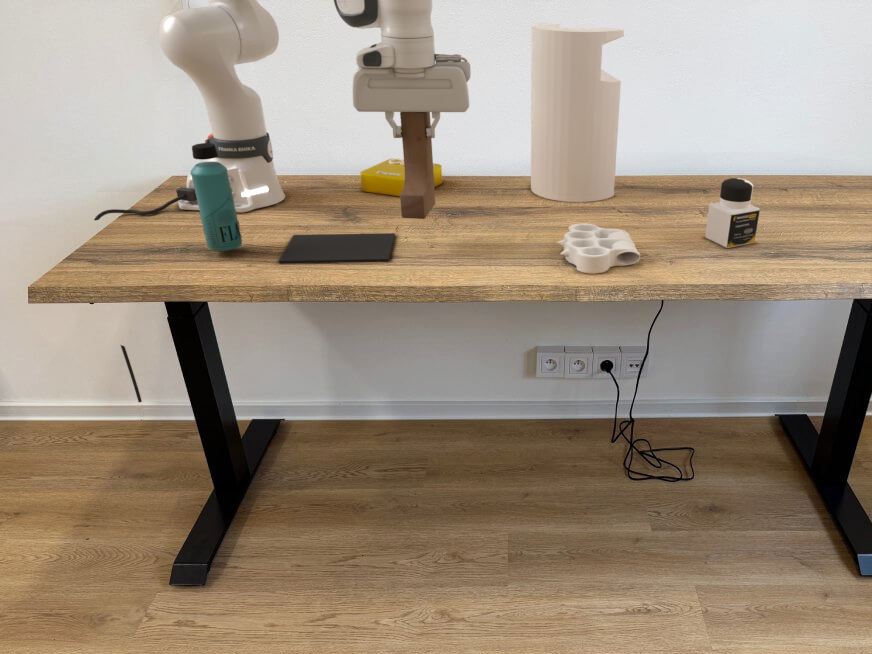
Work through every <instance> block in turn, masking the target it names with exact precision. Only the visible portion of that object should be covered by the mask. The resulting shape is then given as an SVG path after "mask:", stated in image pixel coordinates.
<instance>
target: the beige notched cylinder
mask: <svg viewBox="0 0 872 654" xmlns="http://www.w3.org/2000/svg"><path fill="white" fill-rule="evenodd" d="M624 34H625V29H620V28H609V27H608V28H607V27H599V28H598V27H597V28H568V27H561V26H560V24H558V23H549V22H547V23H546V22H536V23H533V24H531V36H530V37H531V38H530V39H531V41H530V42H531V47H530V50H531V51H530V52H531V55H530V57H531V59H530V60H531V64H530V67H531V68H530V70H531V71H530V80H531V81H530V92H531V93H530V103H531V104H530V107H531V108H530V191H531V192H532V193H533V194H535V196H538V197H541V198H544V199H546V200H547V199H548V200H551V201H552V200H553V201H557V202H558V201H559V202H567V203H568V202H570V203H586V202H587V203H588V202H598V201H603V200H607V199H610V198H612V197H614V195H615V183H616V182H615V181H616V166H617V151H618V150H617V149H618V134H619V133H618V132H619V118H620V117H619V116H620V101H621V83H622V82H621V81H622V80H619V79H618V78H617V77H616V76H613V75H612V74H610V73H608V72H607V71H606V70H604V69H602V59H603V46H604V45H606V44H609V43H610V42H613V41H615V40H618V39H621V38H623V37H624Z"/></svg>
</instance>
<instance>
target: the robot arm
mask: <svg viewBox="0 0 872 654" xmlns="http://www.w3.org/2000/svg"><path fill="white" fill-rule="evenodd" d="M207 2H208V4H209V6H203V7H202V6H201V7H189V8H184V9H181V10H178V11H176V12H175V11H174V12H172V13H170V14H168V15H165V16H164V17H163V18H162V19H161V21H160V24H159V27H158V40H159V45H160V47H161V50H162V52H163V53H164V56H165V57H166V58H167V59H168V60H169V62H171V63H172V65H174V66H175V67H177V68H179V69H180V70H182V71H183V72H184V73H185V74H186V75H187V76H188V77H189V78H190V79H191V80H192V82H193V83H194V84H195V86H196V87H197V89H198V90H199V92H200V94H201V96H202V99H203V101H204V104H205V108H206V112H207V116H208V119H209V124H210V128H211V133H210V134H208V136H207V138H206V139H205V140H204V143H212V144H214V145H215V147H216V151H217V153H218V156H217V157H215V158H212V159H203V160H200V161H199V162H198V163H201V162H209V161H213V162H219V163H221V164H222V165H223V166H225V167H226V168H227V173H228V178H229V182H230V186H231V187H232V190H231V191H233V192H232V195H233V198H234V199H233V201H234V202H235V203H234V206H235V209H236V213H248V212H250V211H254V210H256V209H261V208H266V207H270V206H273V205H275V204H279V203H280V202H283V200H285V198H286V194H285V192H284V190H283V188H282V186H281V183H280V180H279V178H278V175H277V172H276V169H275V165H274V162H273V161H274V152H273V145H272V141H271V139H270V138H271V137H270V134H269V132H268V131H267V127H266V120H265V115H264V108H263V103H262V99H261V97H260V95H259V94H258V92H256V90H255V89H253V88H251V87H250V86H247V85H246V84H243V83H242V81H241V80H240V78H239V77H238V76H239V75H238V74H237V71H236V69H235V65H242V64H248V63H254V62H255V63H256V62H258V61H260V60H263V59H265V58H267V57H269V56H271V55H272V54H274V53H275V52H276V50H277V49H278V46H279V42H280V41H279V40H280V35H279V29H278V25H277V23H276V20H275V19H274V17H273V16H272V14H271V13H270V12H269V11H268V10H267V9H266V8H264V6H262V5H261V4H260V3H259V2H258V1H257V0H207ZM333 4H334V7H335V9H336V12H337V13H338V16H339V18H341V20H342V21H343V22H344V23H345V24H346V25H348V26H349V27H351V28H357V29H361V30H362V29H363V30H364V29H374V28H375V29H377V28H379V29H380V39H381V40H380V41H381V42H379V43H374V44H372V45H368V46H366V47H364V48H363V47H362V49H360V50H358V52H357V53H356V55H355V61H356V65H357V68H356V70H355V72H354V73H353V76H352V105H353V107H354V109H355V110H356V111H357V112H359V113H363V112H364V113H374V112H375V113H384V116H385V120H386V121H387V123H388V124H389V126H390V127H391V129H392V136H393V139H402V127H401V125H397V123H396V121H395V120H394V118H395V113H400V112H430V113H431V118H432V119H433V121H432V123H431V126H427V127H426V132H427V138H431V139H435V138H436V127H437V125H438V123H439V122H440V119H441V113H465V112H467V111H468V109H469V108H470V93H469V87H468V82H469V80H471V63H470V62H469V60H468V59H467V58H465V57H463V56H462V55H461V54H458V53H457V54H455V53H454V54H444V53H435V52H436V51H435V49H436V48H435V34H434V33H435V32H434V29H433V25H432V11H433V0H333ZM175 191H176V195H177V197H175V198H173V199H171V200H169V201H167V202H166V203H164V204H162V205H161V206H159V207H157V208H154V209H151V210H144V211H143V210H139V209H119V208H118V209H117V208H116V209H115V208H114V209H113V208H111V209H106V210H103V211H101V212H100V213H98V214H97V215H96V216H95V218H94V219H93V221H98V220H100V219H101V218H102V217H104V216H106V215H109V214H137V215H141V216H148V215H149V216H150V215H154V214H156V213H159V212H161V211H163V210H165V209H166V208H168V207H169V206H171V205H173V204H174V203H176V202H177V203H178V208H179V209H180V210H185V211H186V210H187V211H200V210H199V205H198V201H197V197H196V193H195V188H194V184H193V180H192V176H191V173H190V172H189V173H188V174H187V177H186V186H185V187H179V188H176V189H175ZM120 349H121V351H122V354H123V357H124V360H125V363H126V366H127V369H128V372H129V375H130V378H131V381H132V386H133V389H134V392H135V394H136V398H137V402H138V403H142V402H143V401H142V396H141V394H140V390H139V387H138V383H137V381H136V380H137V379H136V377H135V373H134V370H133V368H132V365H131V361H130V359H129V356H128V352H127V349H126V346H125V345H122V344H120Z"/></svg>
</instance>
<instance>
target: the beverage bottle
mask: <svg viewBox="0 0 872 654" xmlns="http://www.w3.org/2000/svg"><path fill="white" fill-rule="evenodd" d="M191 151H192V158H193V159H195V160H200V162H201V161H202V160H203V159H212V158H215V157H217V156H218V153H217V151H216V147H215V145H214V144H212V143H205V142H202V143H196V144H193V145H192V146H191ZM189 173H191V176H192V180H193V184H194V188H195V193H196V197H197V201H198V205H199V210H198V212H199V217H200V221H201V225H202V230H203V235H204V237H203V238H205V243H206V246H207V247H208V249H209V250H212V251H216V252H224V251H231V250H235V249H238V248H240V247H241V246H242V244H243V238H242V233H241V232H242V231H241V230H242V229H241V228H240V227H241V226H240V222H239V221H240V220H239V219H238V212H236V209H235V206H234V203H235V202H234V201H233V199H234V198H233V195H232V192H233V191H231V190H232V187H231V186H230V182H229V178H228V173H227V168H226V167H225V166H223V165H222V164H221V163H219V162H213V161H209V162H201V163H199V162H198V163H196V164H195V165H194V166H193V167H192V169H191V170H190V172H189Z"/></svg>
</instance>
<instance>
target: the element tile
mask: <svg viewBox="0 0 872 654" xmlns="http://www.w3.org/2000/svg"><path fill="white" fill-rule="evenodd" d="M442 167H443V166H442V165H441V164H440V163H436V162H433V172H434V188H436V187H438V186H440V185H442V183H443V168H442ZM359 175H360V184H361V190H362V191H363V192H365V193H371V194H378V195H384V196H385V195H386V196H391V197H399V198H400V194H401V192H402V190H403V188H404V180H405V167H404V158H400V157H399V158H397V157H396V158H393V157H392V158H389V159H386V160H383V161H381V162H379V163H378V164H375V165H373V166H370V167H368V168H366V169H364V170H362V171H360V174H359Z"/></svg>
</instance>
